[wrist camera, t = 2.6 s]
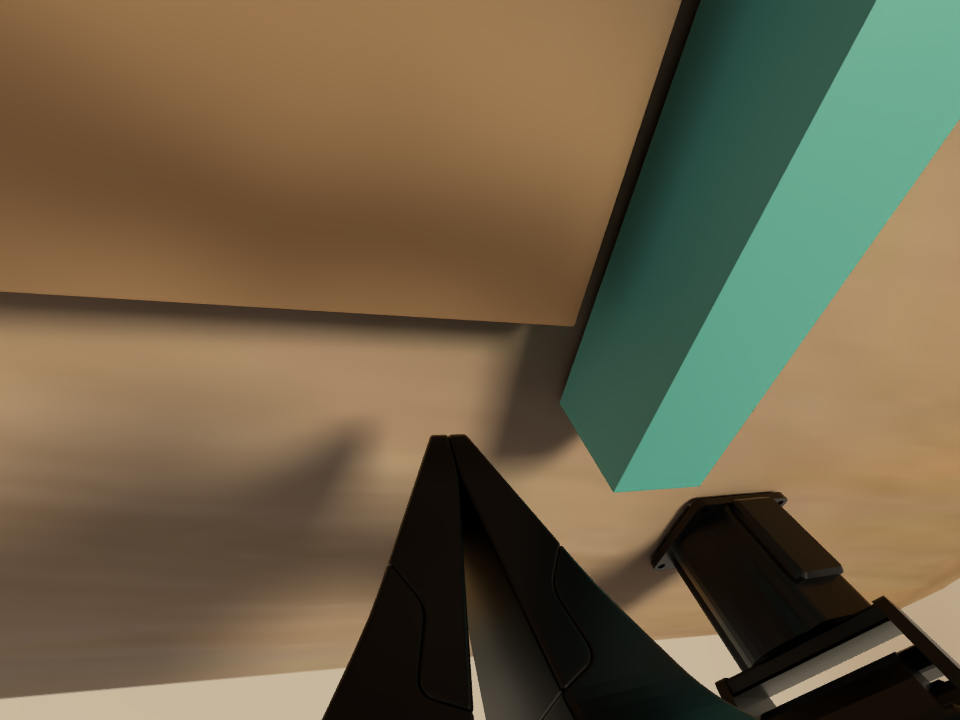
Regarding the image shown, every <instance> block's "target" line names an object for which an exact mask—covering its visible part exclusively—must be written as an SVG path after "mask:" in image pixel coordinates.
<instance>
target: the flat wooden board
mask: <svg viewBox="0 0 960 720" xmlns="http://www.w3.org/2000/svg"><path fill="white" fill-rule="evenodd" d="M681 1H682V0H0V291H1V292H18V293H34V294H50V295H67V296H83V297H100V298H116V299H132V300H149V301H165V302H182V303H198V304H214V305H231V306H247V307H263V308H280V309H296V310H313V311H329V312H345V313H362V314H378V315H395V316H411V317H427V318H444V319H460V320H477V321H493V322H509V323H526V324H542V325H558V326H574V325H575V322H576V319H577V316H578V313H579V310H580V307H581V304H582V301H583V298H584V294H585V291H586V288H587V285H588V282H589V279H590V276H591V273H592V270H593V267H594V264H595V261H596V258H597V255H598V252H599V249H600V246H601V243H602V240H603V237H604V234H605V231H606V228H607V225H608V222H609V219H610V216H611V213H612V210H613V207H614V204H615V201H616V198H617V195H618V192H619V189H620V186H621V183H622V180H623V177H624V174H625V171H626V167H627V164H628V161H629V158H630V155H631V152H632V149H633V146H634V143H635V140H636V137H637V134H638V131H639V128H640V125H641V122H642V119H643V116H644V113H645V110H646V107H647V104H648V101H649V98H650V95H651V92H652V89H653V86H654V83H655V80H656V77H657V74H658V71H659V68H660V65H661V62H662V59H663V56H664V53H665V50H666V47H667V43H668V40H669V37H670V34H671V31H672V28H673V25H674V22H675V19H676V16H677V13H678V10H679V7H680V4H681Z"/></svg>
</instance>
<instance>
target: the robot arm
mask: <svg viewBox="0 0 960 720" xmlns="http://www.w3.org/2000/svg"><path fill="white" fill-rule="evenodd" d="M786 502H787V498H786V497H785V496H784V495H783V494H782V493H781V492H774V493H763V494H751V495H739V496H727V497H715V498H703V499H699V500H697V501H695V502H694V503H693V504H692V505H691V506H690V508H689V509H688V510H687V512H686V513H685V515H684V516H683V517H682V519H681V520H680V522H679V523H678V524H677V526H676V527H675V528H674V530H673V531H672V533H671V534H670V535H669V537H668V538H667V540H666V541H665V542H664V544H663V545H662V546H661V548H660V549H659V551H658V552H657V553H656V555H655V556H654V558H653V559H652V560H651V562H650V563H651V565H652V567H653V568H654V570H655V571H660V570H667V569H674V568H676V569H677V571H678V572H679V574H680V576H681V577H682V579H683V580H684V582H685V583H686V585H687V586H688V588H689V590H690V591H691V593H692V594H693V596H694V597H695V599H696V600H697V602H698V604H699V605H700V607H701V608H702V610H703V611H704V613H705V614H706V616H707V618H708V619H709V621H710V622H711V624H712V625H713V627H714V628H715V630H716V632H717V633H718V635H719V636H720V638H721V639H722V641H723V642H724V644H725V646H726V647H727V649H728V650H729V652H730V653H731V655H732V656H733V658H734V660H735V661H736V662H737V664H738V666H739V667H740V669H741V670H742V672H741V673H739V674H737V675H735V676H733V677H731V678H723V679H722V680H719V681H717V682H716V683H715V685H716V687H717V690H718V692H719V694H720V696H721V698H720V697H718V696H717V695H715V694H714V693H713V692H711V691H710V690H708V689H707V688H706V687H704V686H703V685H702V684H700V683H699V682H698V681H697V680H696V679H694V678H693V677H692V676H691V675H689V674H688V673H687V672H686V671H685V670H684V669H683V668H682V667H681V666H679V665H678V664H677V663H676V662H675V661H674V660H673V659H672V658H671V657H670V656H669V655H668V654H667V653H666V652H665V651H664V650H663V649H662V648H661V647H660V646H659V645H658V644H657V643H656V642H655V641H654V640H653V639H652V638H651V637H650V636H649V635H648V634H646V633H645V632H644V631H643V630H642V629H641V628H640V627H639V626H638V625H637V624H636V623H635V622H634V621H633V620H632V619H631V618H630V617H629V616H628V615H627V614H626V613H625V612H624V611H623V610H622V609H621V608H620V607H619V606H618V605H617V604H616V603H615V602H614V601H613V600H612V599H611V598H610V597H609V596H608V595H607V594H606V593H605V592H604V591H603V590H602V589H601V588H600V587H599V586H598V585H597V584H596V583H595V582H594V581H593V580H592V579H591V578H590V577H589V576H588V574H587V573H586V572H585V571H584V570H583V569H582V568H581V567H580V566H579V565H578V563H577V562H576V561H575V560H574V559H573V558H572V557H571V556H570V554H569V553H568V552H567V551H566V550H565V549H564V547H563V546H560V543H559V542H558V541H557V540H556V538H555V537H554V536H553V535H552V534H551V533H550V531H549V530H548V529H547V528H546V527H545V526H544V525H543V523H542V522H541V521H540V520H539V519H538V518H537V516H536V515H535V514H534V513H533V512H532V511H531V509H530V508H529V507H528V506H527V505H526V504H525V503H524V501H523V500H522V499H521V498H520V497H519V496H518V494H517V493H516V492H515V491H514V490H513V489H512V488H511V486H510V485H509V484H508V483H507V482H506V481H505V479H504V478H503V477H502V476H501V475H500V474H499V473H498V471H497V470H496V469H495V468H494V467H493V466H492V464H491V463H490V462H489V461H488V460H487V459H486V457H485V456H484V455H483V454H482V453H481V452H480V451H479V449H478V448H477V447H476V446H475V445H474V444H473V442H472V441H471V440H470V439H469V438H468V437H467V436H466V435H464V434H454V435H449V436H447V435H432V436H431V437H430V439H429V442H428V445H427V448H426V451H425V454H424V457H423V460H422V463H421V466H420V469H419V472H418V475H417V478H416V481H415V484H414V487H413V490H412V493H411V496H410V499H409V502H408V505H407V508H406V511H405V514H404V517H403V520H402V523H401V526H400V529H399V532H398V535H397V538H396V541H395V544H394V547H393V550H392V553H391V556H390V559H389V562H388V566H387V567H386V570H385V573H384V576H383V579H382V582H381V585H380V588H379V591H378V594H377V596H376V599H375V602H374V604H373V607H372V610H371V613H370V615H369V618H368V620H367V622H366V625H365V627H364V629H363V632H362V634H361V636H360V638H359V641H358V643H357V645H356V648H355V650H354V652H353V654H352V657H351V659H350V661H349V663H348V665H347V667H346V669H345V671H344V674H343V676H342V678H341V680H340V682H339V685H338V686H337V689H336V691H335V693H334V695H333V697H332V699H331V701H330V704H329V706H328V708H327V710H326V712H325V714H324V716H323V718H322V720H474V716H473V714H472V712H473V696H472V680H471V665H470V648H469V636H470V641H471V646H472V651H473V656H474V661H475V666H476V671H477V676H478V681H479V687H480V691H481V697H482V702H483V706H484V712H485V717H486V720H960V665H959V664H958V663H957V662H956V661H955V660H954V659H953V658H951V657H950V656H949V655H948V654H947V653H946V652H945V651H944V650H943V649H942V648H941V647H940V646H939V645H938V644H937V643H936V642H935V641H934V640H932V639H931V638H930V637H929V636H928V635H927V634H926V633H925V632H924V631H923V630H922V629H921V628H920V627H919V626H918V625H917V624H915V623H914V622H913V621H912V620H911V619H910V618H909V617H908V616H907V615H906V614H905V613H904V612H903V611H902V610H901V609H899V608H898V607H897V606H896V605H894V604H893V603H892V602H891V601H890V600H888V599H887V598H886V597H885V596H881V597H879V598H878V599H876V600H874V601H872V602H873V605H870V604H869V603H868V602H867V601H866V600H865V599H864V598H863V597H862V596H861V595H860V594H859V593H858V592H857V591H856V590H855V589H854V588H853V587H852V586H851V585H850V584H849V583H848V582H847V581H846V580H845V579H844V578H843V577H842V576H841V575H840V574H842V573H843V572H844V571H843V568H842V566H841V564H840V563H839V562H838V561H837V560H836V559H835V558H834V557H833V556H832V555H831V554H829V553H828V552H827V551H826V550H825V549H824V548H823V547H822V546H821V545H820V544H819V543H818V542H817V541H816V540H815V539H814V538H813V537H812V536H811V535H810V534H809V533H808V532H807V531H806V530H805V529H804V528H803V527H802V526H801V525H800V524H799V523H798V522H797V521H796V520H795V519H794V518H793V517H792V516H791V515H789V514H788V513H787V512H786V511H785V510H784V509H783V508H782V506H783V505H784V504H785V503H786ZM559 546H560V547H559ZM468 631H469V633H468ZM901 634H904V635H905V636H906V637H907V638H908V639H909V640H910V641H911V642H912V643H913V644H914V645H912V646H910V647H908V648H906V649H904V650H902V651H899V652H897V653H896V652H894V653H892V654H889V655H887V656H885V657H883V658H881V659H879V660H877V661H874V662H872V663H870V664H868V665H866V666H864V667H861V668H859V669H857V670H855V671H853V672H851V673H849V674H846V675H845V676H842V677H840V678H838V679H836V680H834V681H831V682H829V683H827V684H825V685H823V686H821V687H819V688H816V689H814V690H812V691H810V692H808V693H806V694H804V695H801V696H799V697H798V698H795V699H793V700H791V701H789V702H786V703H784V704H782V705H780V706H778V707H776V706H775V705H774V703H773V702H772V700H771V699H770V698H769V697H771V696H773V695H775V694H777V693H779V692H781V691H783V690H785V689H788V688H790V687H792V686H794V685H796V684H798V683H800V682H802V681H804V680H807V679H809V678H811V677H813V676H815V675H817V674H819V673H821V672H823V671H825V670H827V669H830V668H832V667H834V666H836V665H838V664H840V663H842V662H844V661H846V660H848V659H850V658H853V657H855V656H857V655H859V654H861V653H863V652H865V651H867V650H869V649H871V648H873V647H875V646H878V645H880V644H882V643H884V642H886V641H888V640H890V639H892V638H894V637H896V636H898V635H901ZM944 675H945V676H946V677H947V678H948V679H949V681H946V682H944V681H941V680H936V681H934V682H932V683H931V682H930V681H932V680H935V679H937V678H939V677H942V676H944Z"/></svg>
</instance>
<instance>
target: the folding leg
mask: <svg viewBox="0 0 960 720" xmlns="http://www.w3.org/2000/svg"><path fill="white" fill-rule="evenodd" d="M959 119H960V0H701V1H700V4H699V7H698V10H697V12H696V15H695V18H694V21H693V24H692V27H691V29H690V32H689V35H688V38H687V41H686V44H685V47H684V49H683V52H682V55H681V58H680V61H679V64H678V67H677V69H676V72H675V75H674V78H673V81H672V84H671V87H670V89H669V92H668V95H667V98H666V101H665V104H664V107H663V109H662V112H661V115H660V118H659V121H658V124H657V127H656V129H655V132H654V135H653V138H652V141H651V144H650V146H649V149H648V152H647V155H646V158H645V161H644V164H643V166H642V169H641V172H640V175H639V178H638V181H637V184H636V186H635V189H634V192H633V195H632V198H631V201H630V204H629V206H628V209H627V212H626V215H625V218H624V221H623V224H622V226H621V229H620V232H619V235H618V238H617V241H616V243H615V246H614V249H613V252H612V255H611V258H610V261H609V263H608V266H607V269H606V272H605V275H604V278H603V281H602V283H601V286H600V289H599V292H598V295H597V298H596V301H595V303H594V306H593V309H592V312H591V315H590V318H589V321H588V323H587V326H586V329H585V332H584V335H583V338H582V341H581V343H580V346H579V349H578V352H577V355H576V358H575V360H574V363H573V366H572V369H571V372H570V375H569V378H568V380H567V383H566V386H565V389H564V392H563V395H562V398H561V400H560V405H561V407H562V408H563V410H564V412H565V413H566V415H567V416H568V418H569V420H570V421H571V423H572V425H573V426H574V428H575V430H576V431H577V433H578V435H579V436H580V438H581V440H582V441H583V443H584V445H585V446H586V448H587V449H588V451H589V453H590V454H591V456H592V458H593V459H594V461H595V463H596V464H597V466H598V468H599V469H600V471H601V473H602V474H603V476H604V477H605V479H606V481H607V482H608V484H609V486H610V487H611V489H612V491H613V492H628V491H642V490H655V489H669V488H683V487H696V486H700V485H701V483H702V482H703V480H704V479H705V478H706V476H707V475H708V473H709V472H710V471H711V469H712V468H713V466H714V465H715V463H716V462H717V461H718V459H719V458H720V456H721V455H722V454H723V452H724V451H725V449H726V448H727V447H728V445H729V444H730V442H731V441H732V439H733V438H734V437H735V435H736V434H737V432H738V431H739V430H740V428H741V427H742V425H743V424H744V423H745V421H746V420H747V418H748V417H749V416H750V414H751V413H752V411H753V410H754V408H755V407H756V406H757V404H758V403H759V401H760V400H761V399H762V397H763V396H764V394H765V393H766V392H767V390H768V389H769V387H770V386H771V384H772V383H773V382H774V380H775V379H776V377H777V376H778V375H779V373H780V372H781V370H782V369H783V368H784V366H785V365H786V363H787V362H788V360H789V359H790V358H791V356H792V355H793V353H794V352H795V351H796V349H797V348H798V346H799V345H800V344H801V342H802V341H803V339H804V338H805V336H806V335H807V334H808V332H809V331H810V329H811V328H812V327H813V325H814V324H815V322H816V321H817V320H818V318H819V317H820V315H821V314H822V312H823V311H824V310H825V308H826V307H827V305H828V304H829V303H830V301H831V300H832V298H833V297H834V296H835V294H836V293H837V291H838V290H839V289H840V287H841V286H842V284H843V283H844V281H845V280H846V279H847V277H848V276H849V274H850V273H851V272H852V270H853V269H854V267H855V266H856V265H857V263H858V262H859V260H860V259H861V257H862V256H863V255H864V253H865V252H866V250H867V249H868V248H869V246H870V245H871V243H872V242H873V241H874V239H875V238H876V236H877V235H878V233H879V232H880V231H881V229H882V228H883V226H884V225H885V224H886V222H887V221H888V219H889V218H890V217H891V215H892V214H893V212H894V211H895V209H896V208H897V207H898V205H899V204H900V202H901V201H902V200H903V198H904V197H905V195H906V194H907V193H908V191H909V190H910V188H911V187H912V185H913V184H914V183H915V181H916V180H917V178H918V177H919V176H920V174H921V173H922V171H923V170H924V169H925V167H926V166H927V164H928V163H929V161H930V160H931V159H932V157H933V156H934V154H935V153H936V152H937V150H938V149H939V147H940V146H941V145H942V143H943V142H944V140H945V139H946V138H947V136H948V135H949V133H950V132H951V130H952V129H953V128H954V126H955V125H956V123H957V122H958V121H959Z"/></svg>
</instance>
